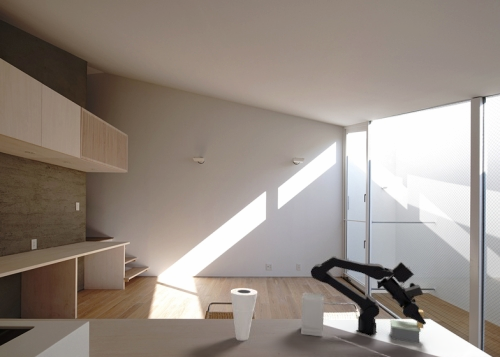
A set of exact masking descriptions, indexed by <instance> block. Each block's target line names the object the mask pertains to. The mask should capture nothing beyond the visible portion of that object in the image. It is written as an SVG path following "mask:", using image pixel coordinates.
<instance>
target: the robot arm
mask: <svg viewBox="0 0 500 357" xmlns="http://www.w3.org/2000/svg"><path fill="white" fill-rule="evenodd" d="M335 267H336V268H340V269H343V270H347V271H353V272H356V273H361V274H364V275H365V276H368V277H369V278H370V279H371V278H372V279H373V280H377V281H376V283H377V286H376V287H377V289H378V290H379V289H381V288H384V290H385V291H386V292H387V293H388V294H389V295H390V296H391V298H392V300H394V301H395V302H396V303H397V304H398V305H399V308H401V309H402V310H401V311H402V314H403V315H404V316H405V317H406V318H410V319H412V320H414V321H416V322H417V321H418V322H420V323H422V324H423V326H424V325H426V324H427V321H426V320H425V319H424V318H423V317H422V316H421V314H420V313H419V310H420V306H419V305H418V304H417V302H416V299H415V297H417V296H422V295H424V293H423V291H422V288H421V286H420V284H415V283H414V282H410V283H409V286H408V287H407V288H405V287H404V286H401V284H402V283H403V284H405V283H406V282H407V281H408V280H410V278H412V277H413V276H414V275H415V274H414V273H413V272H412V270H411V269H410V268H409V267H408V266H406V265H405V264H404V262H402V261H400V262H399V263H398V264H397V265H396V266H395V267H393V269H391V268H387V267H384V266H383V265H382V264H380V263H370V262H369V263H365V262H364V263H363V262H358V261H354V260H349V259H345V258H341V257H337V256H334V255H333V256H331V257H330V258H329V259H327V260H325V261H323V262H322V263H316V264H315V265H313V267H312V268H311V270H310V275H311V278H313V279H314V280H317V281H319V282H321V283H324V284H326V285H328V286H330V287H332V288H333V289H334V290H336V291H337V292H339V293H340V294H342V295H344V297H346V298H348V300H351V301H352V302H354V303H355V304H356V305H357V306H358V308H359V315H358V316H357V317H358V318H357V320H358V321H357V323H358V324H357V329H356V330H355V331H356V332H357V333H361V334H363V335H366V336H372V335H375V334H377V333H378V332H377V323H376V318H375V317H378V315H379V314H380V306H379V302H378V301H377V298H375V297H373V296H371V295H370V294H369V293H366V295H363V294H361V293H359V292H358V291H357V290H355V289H353V288H352V287H350V286H349V285H347V284H346V283H344V282H343V281H341V280H339V278H337V277H335V276H334V275H333V273H331V270H332V269H334V268H335ZM399 283H400V284H399Z"/></svg>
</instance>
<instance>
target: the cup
mask: <svg viewBox="0 0 500 357" xmlns="http://www.w3.org/2000/svg"><path fill="white" fill-rule="evenodd" d="M257 298H258V290H256V289H254V288H248V287H239V288H238V287H236V288H233V289H231V290H230V299H231V307H232V314H233V322H234V325H233V326H234V331H235V332H234V333H235V340H237V341H241V342H242V341H244V342H245V341H248V339H249V336H250V330H251V326H252V321H253V316H254V312H255V306H256V301H257Z"/></svg>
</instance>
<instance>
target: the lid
mask: <svg viewBox="0 0 500 357" xmlns="http://www.w3.org/2000/svg"><path fill="white" fill-rule="evenodd" d="M419 313H420V314H421V316H422V317H423V319H424V317H425V316H424V314H425V313H424V310H423V309H419ZM389 321H390V328H391V327H392V328H399V329H406V330H412V331H419V333H422V332H421V331H422V330H421V329H424V324H422V323H420V322H418V321H416V322H411V321H404V320H396V319H390V320H389Z"/></svg>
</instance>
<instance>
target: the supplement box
mask: <svg viewBox="0 0 500 357" xmlns="http://www.w3.org/2000/svg"><path fill="white" fill-rule="evenodd" d="M324 298H325V297H324V294H323V293H315V292H314V293H312V292H303V293H302V299H301V300H302V303H301V304H302V305H301V323H300V324H301V327H300V334H301V335H308V336H315V337H323V336H324V335H323V333H324V317H325V316H324V311H325V310H324V309H325V299H324Z"/></svg>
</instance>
